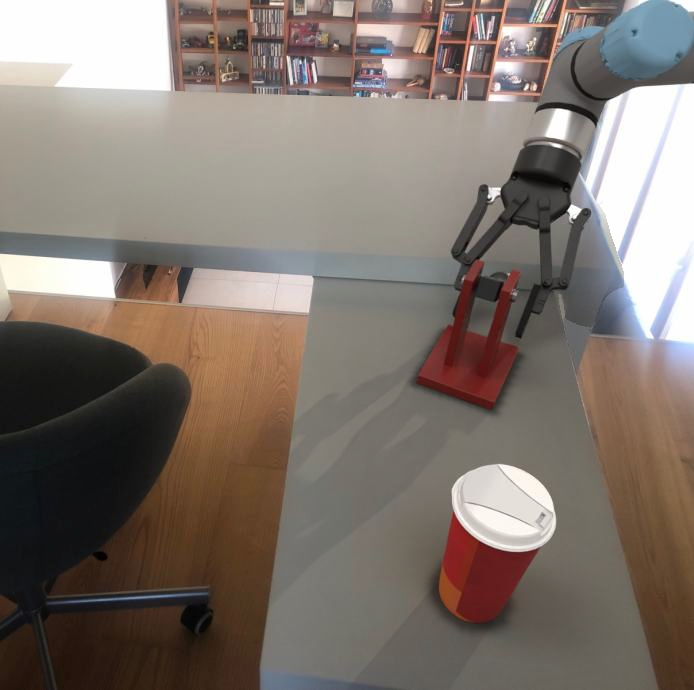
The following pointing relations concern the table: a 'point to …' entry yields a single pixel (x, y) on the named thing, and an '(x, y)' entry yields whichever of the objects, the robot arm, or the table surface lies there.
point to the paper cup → (492, 539)
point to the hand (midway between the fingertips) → (486, 325)
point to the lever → (491, 286)
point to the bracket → (473, 348)
